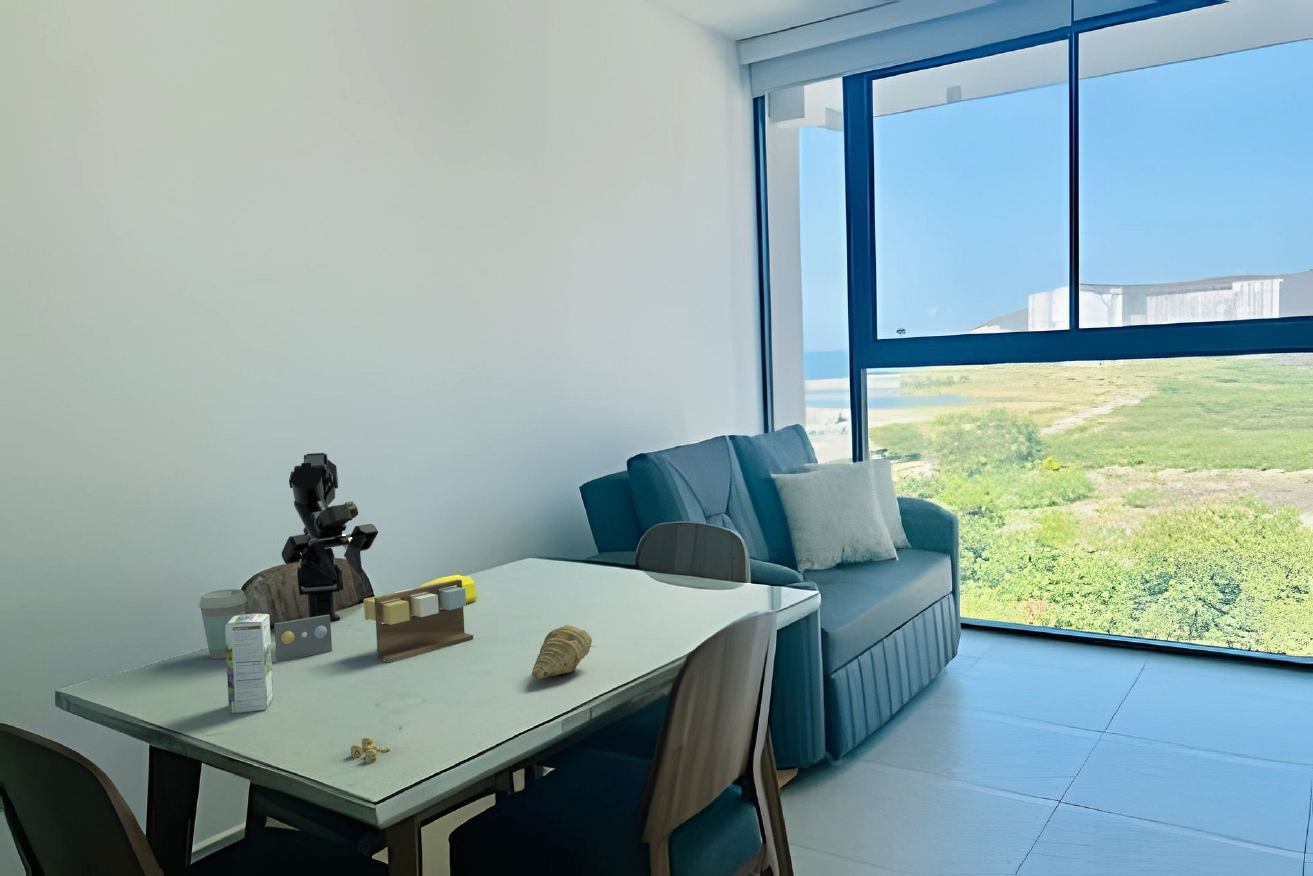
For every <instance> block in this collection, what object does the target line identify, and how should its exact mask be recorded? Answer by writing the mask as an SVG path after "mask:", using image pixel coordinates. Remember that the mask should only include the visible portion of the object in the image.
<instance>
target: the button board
mask: <svg viewBox="0 0 1313 876" xmlns="http://www.w3.org/2000/svg"><path fill="white" fill-rule="evenodd" d="M451 586H457V587H460V588H462V580H459V579H458V580H453V581H449V582H444V583H440V584H435V585H431V586H426V587H422V588H419V587H418V588H413V590H408V589H407V590H408V591H404V592H399V591H398V592H399V593H395V594H393V593H391V594H384V595H385V596H381V597H376V596H375V597H376V598H374V599H375V617H376V621H375V630H376V631H375V632H376V649H377V650H376V651H377V659H378V658H379V659H378V660H380V659H381V661H383V660H385V661H384V662H387V663H393V662H396V661H395V660H397V661H400V659H401V660H403V659H402V658H404V659H407V658H411V657H414V656H417V655H421V654H426V653H429V652H432V651H436V650H440V649H442V647H443V648H446V647H450V646H453V645H457V643H458V644H461V643H464V642H467V641H471V640H474V634H472V633H471V634H470V633H466V632H465V616H464V615H465V614H464V607H460V608H456V609H452V610H446V609H441V610H440V597H439V589H442V588H447V587H451ZM425 592H429V593H431V594H435V595H438V611H439V613H436V614H432V615H428V616H424V617H418V616H413V615H412V612H411V596H412V595H416V594H420V593H425ZM398 598H400V600H403V601H408V602H409V618H410V620H408V621H404V622H400V623H396V624H392V625H390V624H386V623H382V618H381V602H385V601H389V600H394V599H398ZM460 642H461V643H460ZM435 649H436V650H435ZM428 651H429V652H428ZM410 656H411V657H410ZM392 661H393V662H392Z"/></svg>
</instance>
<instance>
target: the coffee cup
mask: <svg viewBox="0 0 1313 876" xmlns="http://www.w3.org/2000/svg"><path fill="white" fill-rule="evenodd" d="M247 602H248V599H247V596H246V594H245V592H244V590H242V589H237V588H231V589H230V588H229V589H220V590H214V591H209V592H206V593H204V594H202V595H201V597H200V600H199V602H198V604H199V605H198V607H199V608H200V611H201V616H202V622H203V628H204V632H205V636H206V643H207V649H208V653H209V657H210V658H211V659H213V660H215V659H216V660H224V658H225V659H226V636H225V625H226V624H227V623H228V622H229V621H230V620H231V619H232V618H233V617H234V616H238V615H245V614H246V604H247Z"/></svg>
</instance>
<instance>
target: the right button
mask: <svg viewBox="0 0 1313 876" xmlns="http://www.w3.org/2000/svg"><path fill="white" fill-rule="evenodd" d="M440 583H441V582H439V583H435V584H440ZM435 584H430V585H426V586H431V585H435ZM426 586H422V587H426ZM426 593H429V592H426ZM439 597H440V608H442V609H446V610H452V609H456V608H460V607H463V608H464V607H467V604H466V593H465V588H460V587H455V586H451V587H447V588H442V589H439Z"/></svg>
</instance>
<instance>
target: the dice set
mask: <svg viewBox="0 0 1313 876" xmlns="http://www.w3.org/2000/svg"><path fill="white" fill-rule="evenodd" d="M381 750H382V753H387V752H391V748H390V746H382V747H381V748H380V747H379V746H377V745H375V744H374V738H373V737H371V736H366V737H363V738H362V739H361V744H359V743H358V744H354V745H352V746H351V747H350V755H351V758H353V759H356V758H361V757H363V751H365V752H364V760H365V763H367V764H372V763H376V762H377V760H378V758H377V757H378V756H377V755H378V754H377V753H378V752H380V751H381Z"/></svg>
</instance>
